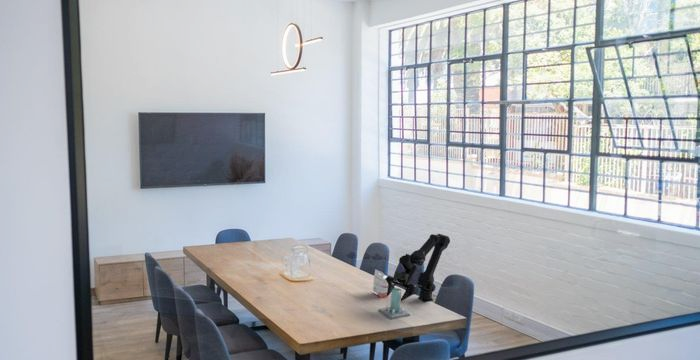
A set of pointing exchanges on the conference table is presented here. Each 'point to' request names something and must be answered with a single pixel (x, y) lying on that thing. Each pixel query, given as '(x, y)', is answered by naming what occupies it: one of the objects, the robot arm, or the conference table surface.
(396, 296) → the rounded cone
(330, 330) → the conference table surface
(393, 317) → the pin board
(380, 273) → the ink cartridge box
